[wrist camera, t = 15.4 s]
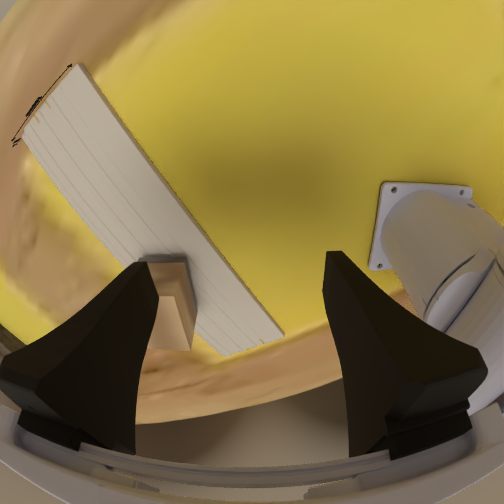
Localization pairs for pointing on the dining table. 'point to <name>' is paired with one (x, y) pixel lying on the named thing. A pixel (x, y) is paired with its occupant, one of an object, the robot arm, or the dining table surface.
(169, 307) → the block
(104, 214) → the baseboard
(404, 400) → the robot arm
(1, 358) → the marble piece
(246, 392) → the dining table surface
